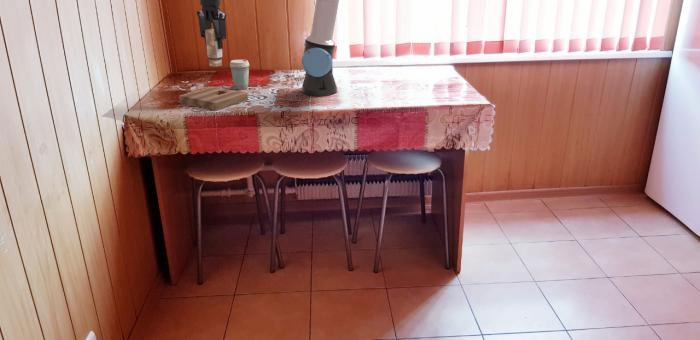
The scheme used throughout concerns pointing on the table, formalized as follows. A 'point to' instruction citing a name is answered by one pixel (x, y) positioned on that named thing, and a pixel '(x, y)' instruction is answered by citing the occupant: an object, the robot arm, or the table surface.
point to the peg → (212, 48)
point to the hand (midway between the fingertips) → (215, 56)
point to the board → (213, 98)
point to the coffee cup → (240, 73)
